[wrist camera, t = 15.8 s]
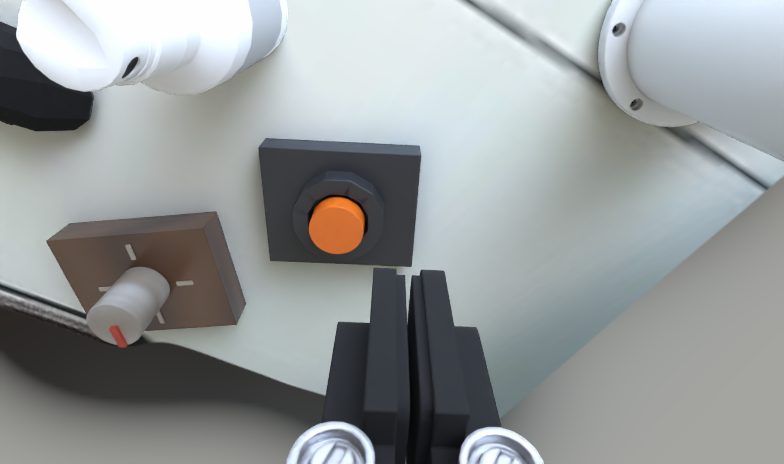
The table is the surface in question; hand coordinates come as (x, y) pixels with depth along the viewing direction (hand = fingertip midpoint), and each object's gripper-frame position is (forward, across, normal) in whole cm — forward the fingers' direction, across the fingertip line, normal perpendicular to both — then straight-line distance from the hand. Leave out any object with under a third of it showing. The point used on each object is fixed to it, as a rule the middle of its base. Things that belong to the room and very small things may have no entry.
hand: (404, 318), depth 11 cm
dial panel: (+25, +20, +16) cm, 36 cm away
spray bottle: (+25, +11, -5) cm, 28 cm away
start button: (+21, +4, +9) cm, 24 cm away
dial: (+22, +20, +17) cm, 34 cm away
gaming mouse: (+25, +29, -1) cm, 38 cm away
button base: (+25, +4, +9) cm, 27 cm away
